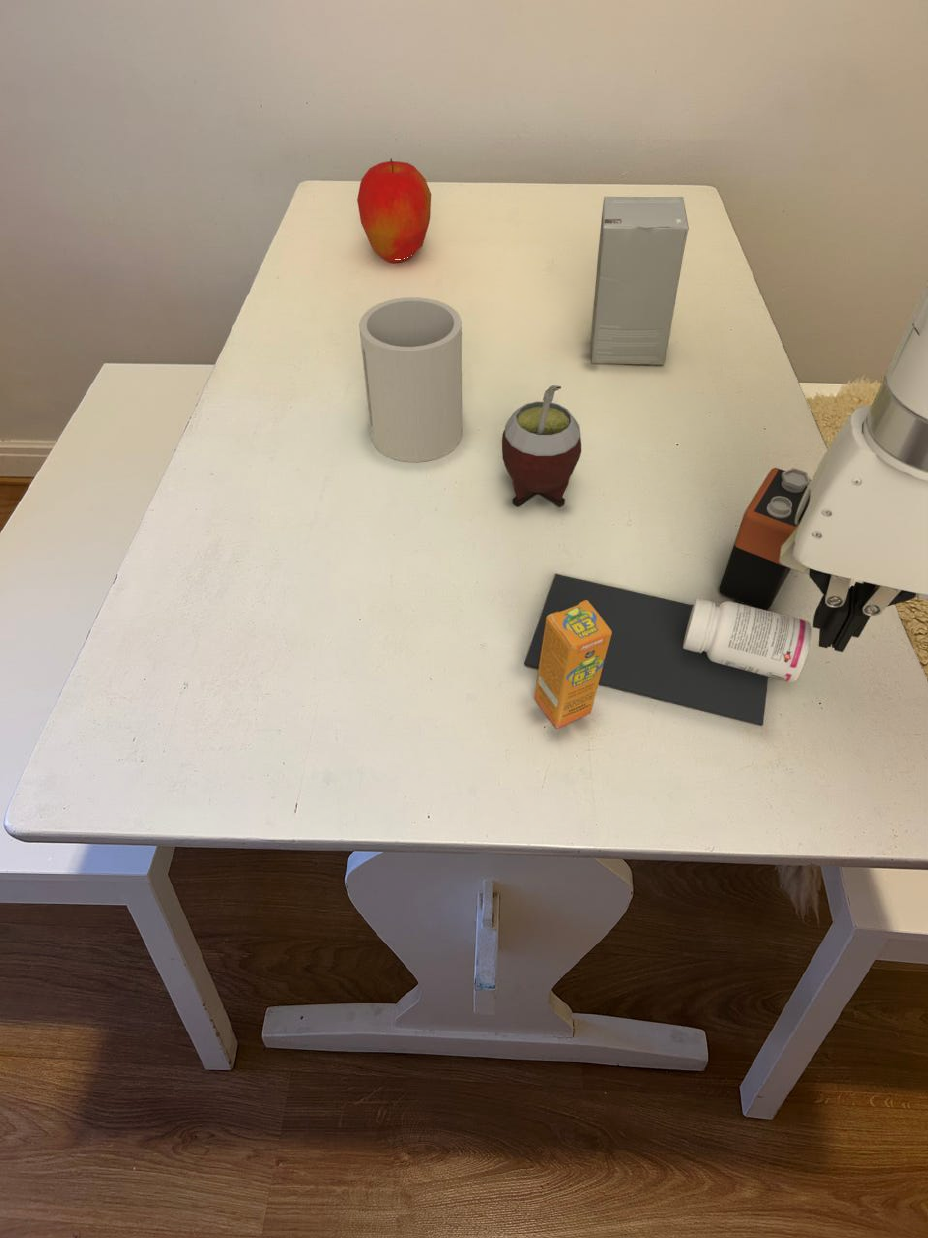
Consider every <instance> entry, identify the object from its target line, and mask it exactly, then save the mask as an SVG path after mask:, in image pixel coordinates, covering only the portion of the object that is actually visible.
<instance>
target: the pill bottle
mask: <svg viewBox="0 0 928 1238" xmlns="http://www.w3.org/2000/svg"><path fill="white" fill-rule="evenodd" d="M692 605H693V609H692V612H691V615H690V619H689V622H688V626H687V630H686V634H685V638H684V643H683V648H684V649H686V650H690V651H693V652H699V653H701V652H702V651H705V652H706V653H707V656H708V658H709V659H710V660H711V661H713V662H716V663H719V664H723V665H726V666H730V667H734V668H738V669H742V670H745V671H749V672H753V673H757V674H760V675H764V676H767V677H768V678H771V679H776V680H778V681H782V682H786V683H794V682H795V681H797V679H798V678H799V676H800V675H801V672H802V670H803V668H804V666H805V663H806V661H807V657H808V654H809V651H810V647H811V642H812V631H813V630H812V629H813V626H812V623H811V622H810V621H808V620H806V619H803V618H798V617H794V616H789V615H785V614H781V613H777V612H773V611H769V610H767V611H766V610H762V609H758V608H754V607H752V606H749V605H747V604H743V603H738V602H734V601H723V602H722V603H721V604H720V605H719V606H718V605H716V602H712V601H711V600H707V599H701V598H696V599H695V600H694V603H693V604H692Z"/></svg>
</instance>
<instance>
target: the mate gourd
mask: <svg viewBox="0 0 928 1238" xmlns="http://www.w3.org/2000/svg"><path fill="white" fill-rule="evenodd" d="M560 389H562V385H557V384H556V385H549V386H548V388H547V389H545V391H544V393H543V398H542V401H533V402H528V403H525V404H523V405H522V406H521V407H519V408H517V409H516V410H515V411H514V412H513V413H511V415H510V417H509V418H508V420H507V422H506V423H505V425H504V429H503V432H502V436H501V454H502V455H501V457H502V461H503V464H504V467H505V469H506V471H507V473H508V475H509V476H510V478H511V480H512V485H513V491H514V494H515V496H514V497H513V499H511V500H512V504H513V505H514V506H515V507H521V506H522V505H524V504H525V503H526V502H528V501H529V500H531V499H533V498H534V497H535V496H537V495H538V496H540V497H543V498H544V499H545V500H547V501H549V502H550V503H552V505H553V504H554V505H555V506H557V507H558V508H559V507H560V508H561V507H562V506H564V505H565V502H566V498H564V497H563V496H564V494H565V492H566V490H567V488H568V485H569V484H570V479H571V477H572V475H573V474H574V472H575V469H576V467H577V465H578V462H579V460H580V458H581V453H582V439H581V437H582V436H581V429H580V424H579V423H578V421H577V418H575V417H574V416H573V414H572V413H571V412H570V410H569V409H568V408H566V407H564V406H562V405H561V404H559V403H556V402H555V403H554V402H553V399H554V397H555V392H556V391H559V390H560Z"/></svg>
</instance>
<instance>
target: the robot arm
mask: <svg viewBox="0 0 928 1238" xmlns="http://www.w3.org/2000/svg"><path fill="white" fill-rule="evenodd" d="M810 480H811V481H810V483H809V485H808V487H807V489H806V491H805V493H804V495H803V497H802V499H801V502H800V504H799V507H798V510H797V514H796V517H795V524H796V525H799V526H798V527H797V528H796V529H795V530H794V532H793V533H792V534H791V535H790V536H789V538H788V539H787V540H786V541H785V542H784V544H783V545H782V546H781V551H780V559H779V560H780V563H781V564H782V565H784V566H786V567H789V568H791V569H790V570H793V571H796V572H798V573H801V574H803V575H804V574H807V575H809V578H810V579H811V581H813V583H814V585H815V586H816V587H817V588H818V590H819V591H820V592H821V593H822V597H821V598H820V600H819V602H818V605H817V607H816V608H815V611H814V614H813V619H812V628H814V629H819V632H818V633H819V634H818V647H819V648H822V649H828V648H832V649H834V651H835V652H839V653H844V651H845V649H846V647H847V646H848V644H849V642H850V641H851V639H852V638H857V639H858V638H860V636H861V634H862V632H863V631H864V629H865V627H866V626H867V623H869V620H870V619H871V617H877V616H879V615H881V614H882V613H883V612H884V611H885V610H886V608H887V607H891V606H894V605H898V604H902V603H905V602H908V601H911V600H913V599H915V598H917V600H923V601H924V600H926V601H928V278H927V279H926V282H925V284H924V286H923V288H922V291H921V293H920V295H919V297H918V300H917V302H916V304H915V307H914V309H913V311H912V313H911V316H910V318H909V320H908V322H907V324H906V327H905V329H904V332H903V334H902V337H900V341H899V343H898V345H897V348H896V350H895V351H894V355H893V357H892V360H891V361H890V363H889V366H888V368H887V369H886V372H885V374H884V376H883V379H882V381H881V383H880V386H879V387H878V390H877V392H876V395H875V397H874V399H873V402H872V403H871V405H862V406H859V407H857V408H856V409H855V410H853V411H852V413H851V414H850V415H849V417H848V418H847V419H846V421H845V422H844V423H842V426H841V427H840V428H839V430H838V432H837V433H836V435H835V437H834V438H833V439H832V441H831V443H830V444H829V446H828V448H827V449H826V451H825V452H824V454H823V456H822V458H821V459H820V462H819V464H818V465H817V468H816V469H815V471H814V473H813V475H812V477H811V478H810ZM852 580H855V582H854V584H853V585H852V584H851V582H852ZM858 581H859V582H858Z"/></svg>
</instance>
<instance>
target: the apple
mask: <svg viewBox="0 0 928 1238" xmlns="http://www.w3.org/2000/svg"><path fill="white" fill-rule="evenodd" d="M358 189H359V190H358V192H357V193H358V194H357V198H356V202H357V207H358V213H359V220H360V223H361V226H362V229H363V231H364V233H365V235H366V237H367V240H368V243H369V244H370V247H371V249H372V250H373V252H374V253H375V254H377V255H378V256H379V257H380V258H381V259H383V260H384V261H386V262H387V263H389V264H400V263H404V262H406V261H408V260H410V258H412V257H413V256H414V255H415V254H416V253H417V252H418V251H419V250H420V249H421V248H423V245H424V242H425V239H426V236H427V233H428V229H429V227H430V226H429V225H430V221H431V214H432V213H431V211H432V209H431V208H432V192H431V190H430V187H429V184H428V182H427V180H426V178H425V177H424V175H423V174H422V173H421V172H420V171H419V170H418V169H417V168H416V167H415V166H414V165H413V164H411V163H408V162H405V161H398V160H393V158H392V157H391V158H390V160H388V161H383V162H379V163H377V164H375V165H373V166H371V167H369V168H368V170H367V171H366V172H365V173H364V175H363V176H362V178H361V180H360V184H359V188H358ZM413 254H414V255H413ZM411 255H412V256H411ZM407 257H408V258H407ZM404 258H405V259H404ZM395 259H401V260H395Z"/></svg>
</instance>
